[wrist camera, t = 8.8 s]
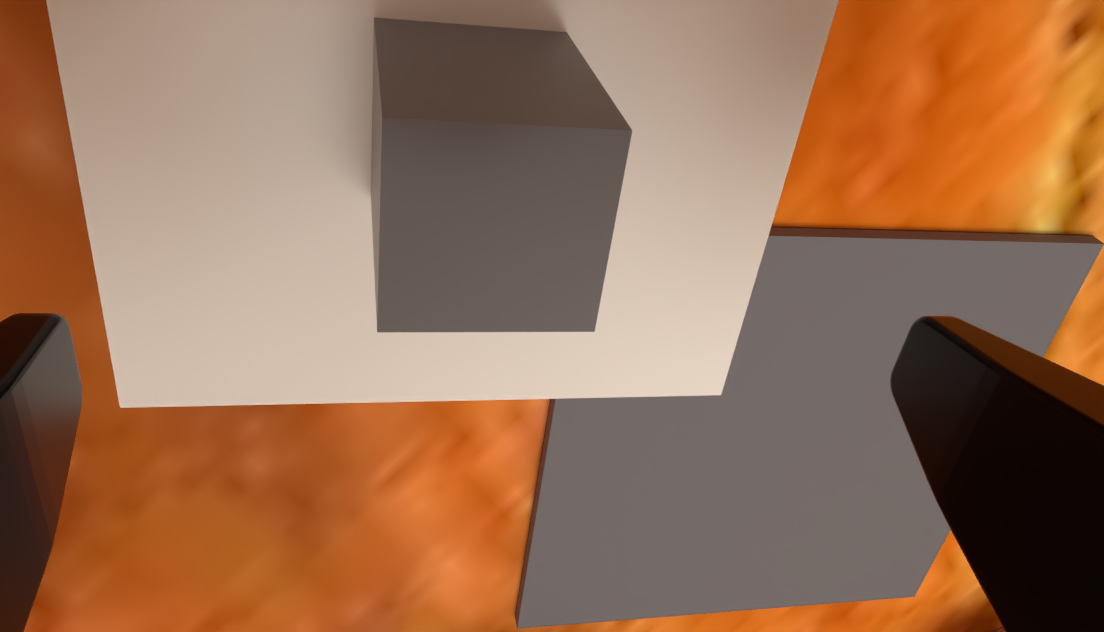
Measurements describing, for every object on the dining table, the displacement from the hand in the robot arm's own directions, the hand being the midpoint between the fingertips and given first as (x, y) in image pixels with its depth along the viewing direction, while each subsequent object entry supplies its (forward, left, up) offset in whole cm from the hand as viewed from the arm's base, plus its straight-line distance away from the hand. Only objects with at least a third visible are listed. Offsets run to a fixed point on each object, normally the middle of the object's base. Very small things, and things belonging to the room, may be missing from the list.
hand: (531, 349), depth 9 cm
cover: (0, 0, -7) cm, 7 cm away
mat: (+12, -13, -12) cm, 22 cm away
